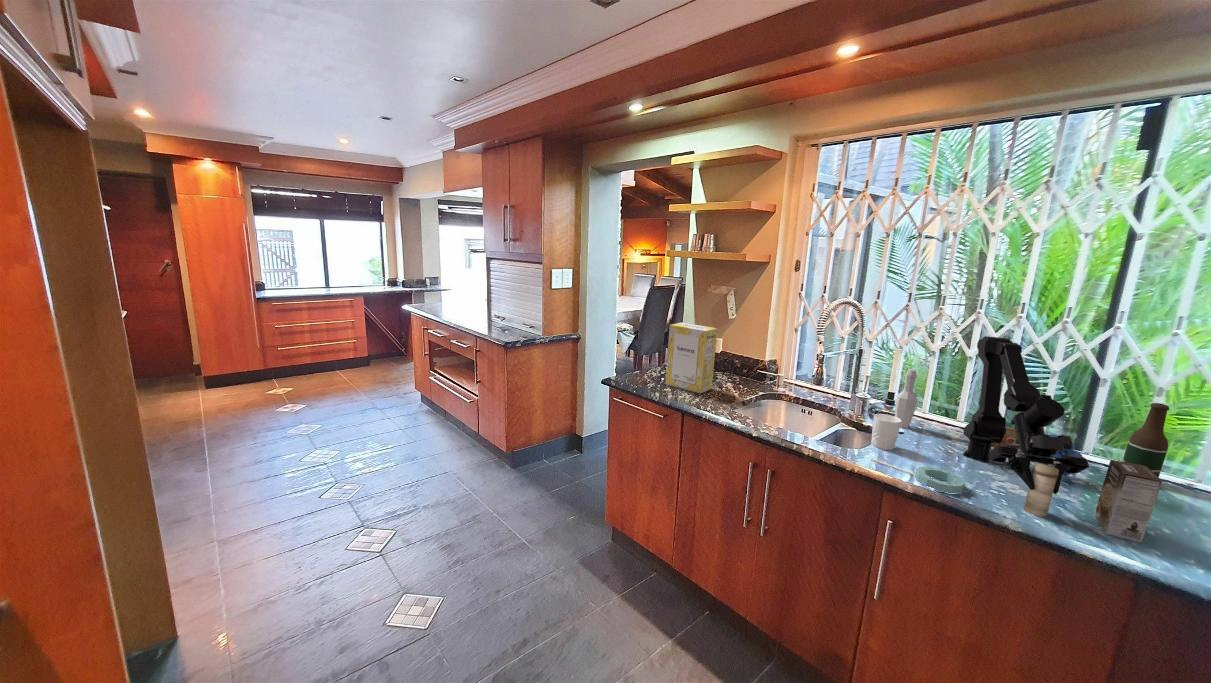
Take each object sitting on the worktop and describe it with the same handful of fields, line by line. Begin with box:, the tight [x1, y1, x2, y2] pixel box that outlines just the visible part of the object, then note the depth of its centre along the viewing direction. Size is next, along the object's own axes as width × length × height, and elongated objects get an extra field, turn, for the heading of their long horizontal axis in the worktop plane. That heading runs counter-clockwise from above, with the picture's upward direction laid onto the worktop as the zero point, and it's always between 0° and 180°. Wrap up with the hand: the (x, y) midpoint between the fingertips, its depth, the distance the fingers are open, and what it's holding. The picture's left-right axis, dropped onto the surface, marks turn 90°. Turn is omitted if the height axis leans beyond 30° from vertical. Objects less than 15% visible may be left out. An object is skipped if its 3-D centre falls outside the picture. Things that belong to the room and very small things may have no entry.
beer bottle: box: [1122, 402, 1170, 478], centre depth 136 cm, size 8×8×24 cm
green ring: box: [914, 466, 966, 494], centre depth 130 cm, size 11×11×2 cm
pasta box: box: [665, 322, 718, 395], centre depth 208 cm, size 18×10×28 cm, turn 50°
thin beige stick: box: [871, 457, 916, 476], centre depth 139 cm, size 1×12×1 cm, turn 39°
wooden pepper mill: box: [1023, 462, 1059, 518], centre depth 117 cm, size 4×4×12 cm
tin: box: [968, 426, 1020, 451], centre depth 157 cm, size 15×3×8 cm, turn 41°
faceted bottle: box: [894, 368, 918, 429], centre depth 172 cm, size 6×6×22 cm
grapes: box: [1041, 434, 1083, 477], centre depth 139 cm, size 12×7×12 cm, turn 44°
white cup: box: [870, 413, 901, 451], centre depth 154 cm, size 8×8×10 cm
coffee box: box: [1093, 459, 1163, 543], centre depth 110 cm, size 9×6×16 cm
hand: (1044, 491), depth 115 cm, fingers closed on wooden pepper mill, 4 cm apart
